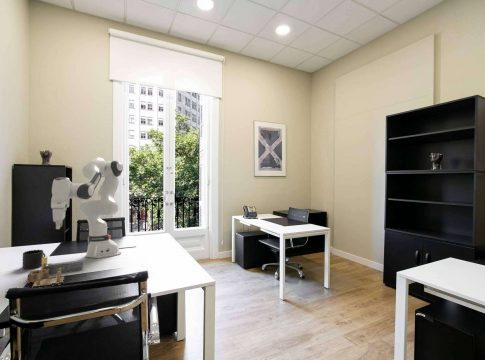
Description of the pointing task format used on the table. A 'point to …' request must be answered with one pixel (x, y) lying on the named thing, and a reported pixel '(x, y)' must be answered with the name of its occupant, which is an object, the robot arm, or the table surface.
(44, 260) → the pin
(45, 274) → the tan lumpy piece
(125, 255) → the table surface
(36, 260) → the mug
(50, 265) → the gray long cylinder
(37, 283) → the peg rack
